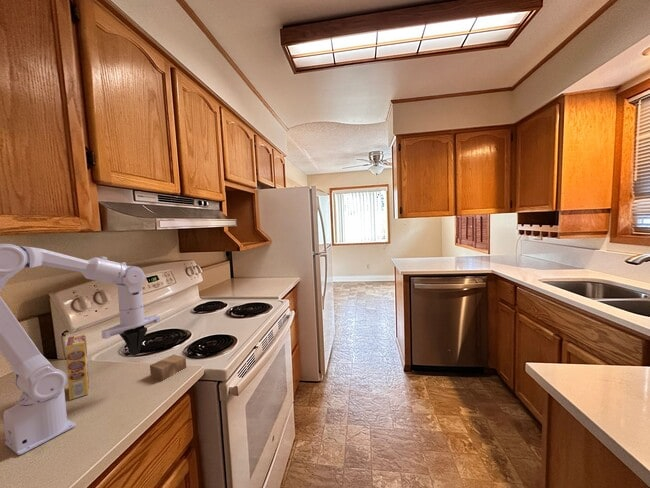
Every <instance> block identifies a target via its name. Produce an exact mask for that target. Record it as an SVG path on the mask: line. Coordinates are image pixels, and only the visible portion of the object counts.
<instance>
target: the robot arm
mask: <svg viewBox="0 0 650 488" xmlns="http://www.w3.org/2000/svg"><path fill="white" fill-rule="evenodd" d="M40 266H41V267H42V266H43V267H49V268H57V269H62V270H68V271H73V272H79V273H81V274H82V275H83V276H84V278H85V279H87V280H91V281H97V282H103V283H107V284H115V285H116V287H117V297H118V313H119V324H115V325H114V326H111V327H109V328H107V329H103V330H101V338H102V339H104V340H107V339H110V338H111V337H115V336H117V335H119V336H120V337H121V339H122V340H123V341H124V343H125V344H126V346H127V348H128V351H129V354H130V355H131V356H137V355H139V354H140V351H141V347H142V342H143V341H144V338H145V335H146V333H148V327H146V326H148V325H152V324H154V323H155V324H157V323H160V322H161V321H160V315H158V314H155V315H151V316H146V317H145V310H144V297H143V284H144V282H145V281H146V278H147V274H145V273H144V270H143V269H142V268H141V267H139V266H136V265H135V266H134V265H127V262H125V261H124V262H123V261H120V262H117V261H112V260H109V259H108V257H107V256H101V255H100V256H99V257H97V256H96V257H92V258H89V259H82V258H80V257H79V258H78V257H75V256H71V255H67V254H64V253H60V252H56V251H52V250H47V249H44V248H41V247H40V248H38V247H32V246H25V245H24V246H21V245H15V244H11V243H0V292H1V291H2V289H3V288H4V287H5V285H6V284H7V282H8V281H9V279H11V278H13V277H14V276H15V275H16V274H18V273H19V272H20V271H22V270H23V269H24V268H25V269H32V268H36V267H37V268H38V267H40ZM0 355H1V356H2V357H3V358H4V360H5V361H6V362H7V363H8V364H9V366H10V370H11V371H12V372H13V374H14V385H15V387H16V388H17V389H19V390H21V391H22V393H21V395H20V396H19V399H18V402H17V403H16V404H15V405H13V406H12V407H9V408H7V409H5V410H4V412H3V426H4V428H3V429H4V437H5V442H4V444H5V446H7V447H8V448H9V449H11V451H13V452H14V453H15V454H16V455H17V456H21V455H23V454H25V453H28V452H29V451H31V450H33V449H35V448H36V447H39V446H40V445H42V444H44V443H47V442H48V441H50V440H52V439H54V438H55V437H57V436H59V435H61V434H63V433H65V432H67V431H69V430H71V429H72V428H74V427H76V423H75V422H74V421H71V420H70V419H69V418H68V416H67V415H68V414H67V413H68V412H67V405H66V394H65V386H66V384H67V382H68V375H67V374H66V373H65V372H64V371H62V370H61V369H57V368H56V367H54V366H53V365H52V363H51V362H50V361H49V360H48V359H47V358H46V357H45V356H44V355H43V354H42V353H41V352H40V350H39V349H38V347H37V345H36V344H35V343H34V341H33V340H32V339H31V338H30V336H29V335H28V333H27V332H26V330H25V328H24V327H23V326H22V325H21V323H20V322H19V321H18V319H17V317H16V316H15V314H13V312H12V311H11V309H10V308H9V306H8V305H7V303H6V302H5V301H4V300H3V297H1V295H0Z"/></svg>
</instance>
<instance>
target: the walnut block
mask: <svg viewBox="0 0 650 488" xmlns="http://www.w3.org/2000/svg"><path fill="white" fill-rule="evenodd" d="M185 368H186V369H187V359H186V357H185V356H183V355H182V356H181V355H177V354H172V355H170V356H167V357H165V358H163V359H160V360H158V361H157V362H154V363H151V364H150V365H149V370H150V371H149V372H150V378H153V379H155V378H156V380H158V379H159V380H158V381H161V380H162V381H161V382H164V381H166V380H167V378H168V379H170V378H172V377H174V376H175V375H177V374H178V373H177V372H179V371H181V370H183V369H185ZM186 369H185V370H186ZM183 371H184V370H183ZM181 372H182V371H181ZM176 373H177V374H176ZM179 373H180V372H179ZM174 374H175V375H174ZM171 376H172V377H171ZM169 377H170V378H169ZM165 379H166V380H165ZM163 380H164V381H163Z"/></svg>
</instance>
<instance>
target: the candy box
mask: <svg viewBox="0 0 650 488" xmlns="http://www.w3.org/2000/svg"><path fill="white" fill-rule="evenodd" d="M87 348H88V347H87V335H86V333H85V334H77V335H73V336H70V337H68V338H67V342H66V346H65V349H66V366H67V382H68V397H69V399H68V400H74V399H78V398H80V397H85V396H88V395H89V383H90V379H89V378H90V377H89V363H88V362H89V361H88V349H87Z"/></svg>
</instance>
